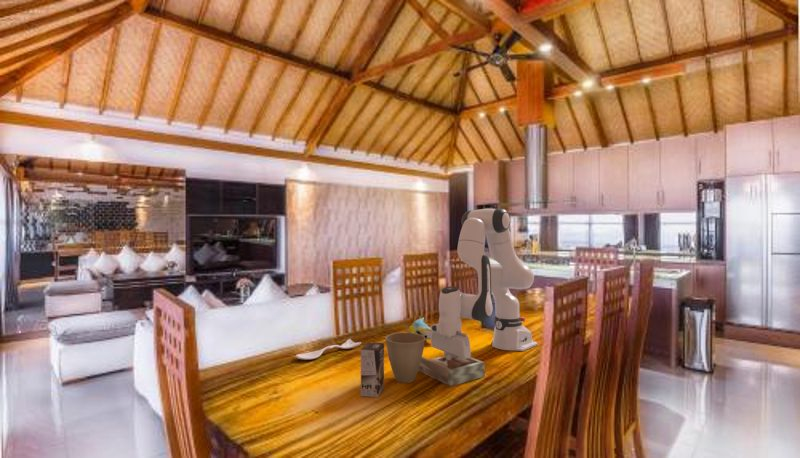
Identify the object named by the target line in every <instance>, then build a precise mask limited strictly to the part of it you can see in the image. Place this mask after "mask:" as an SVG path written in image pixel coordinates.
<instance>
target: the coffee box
mask: <svg viewBox="0 0 800 458" xmlns="http://www.w3.org/2000/svg"><path fill="white" fill-rule="evenodd" d="M384 389H385V343H383V342H367V343H365V345H364V346H363V347H361V349H360V396H361V397H371V398H378V397H379V396H380V395H381V394H382V392H383V390H384Z"/></svg>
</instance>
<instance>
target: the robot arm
mask: <svg viewBox="0 0 800 458" xmlns="http://www.w3.org/2000/svg"><path fill="white" fill-rule="evenodd" d="M510 226H511V216H510V214H509V212H508V211H507V210H506V209H503V208H482V209H475V210H474V209H470V210H468V211H465V212H464V213H463V215H462V216H461V230H460V232H459V233H460V234H459V237H458V242H457V256H458V257H459V258H458V259H460V260H461V261H462V262H463V263H465V264H466V265H468V266H470V267H472V268H473V269H475V270H476V272H477V279H478V280H477V283H478V285H477V286H478V287H477V289H478V293H477V294H472V293H464V292H462V291H461V290H460V288H459V287H457V286H446V287H444V288H442V289H440V292H439V296H438V312H439V313H438V314H439V318H438V323H434V324H431V325H430V328H431V330H432V332H431V339H430V345H431V347H432V348H434V349H436V350H439V351H442V352H443V354H444V356H445V358H446V363H447V364H448V360H449V359H453V358H456V356H457V357H459V358H462V359H467V358H469V357H471V356H472V354H471V353H472V351H471V343H470V340H469V339H470V338H469V336H468V335H467V333H465V332H462V318H464V319H465V318H466V319H471V320H475V321H478V322H485V321H487V320H488V319H490V318H491V316H493V312H494V311H495V312H494V313H495V316H494V327H493V328H494V329H493V339H492V340H491V342H492V345H491V346H492V347H493V348H495V349H497V350H501V351H502V350H503V351H517V352H524V351H526V350H529V349H531V348H533V347H536V346H538V342H536V341H535V340H533V337H532V336H533V335H532V332H531V331H530V330H529V329H528V328H527V327H526V326H525V325H524V324H523V322H526V320H527V319H526V317H524V316H521V317H520V302H519V299H518V298H517V297H516V296H514V295H513V294H512V293H511V291H510V289H512V290H524V289H525V290H526V289H529V288H531V286H532V285H533V284H534V281H535V275H534V272H533V270H532V269H531V268H530V267H528V266H527V265H525V264H524V263H523V262H522V261H521V259H520V258H519V257H518V255H517V254H516V253H517V252H516V250H515V247H514V245H513V239H512V234H511V232H510ZM486 242H487V246H488V250H489V255H490V257H491V259H493V261H494V262H497V263H498V264H497V263H494V264H491V260H490V258H489V256H487V254H486V253H485V252H486V251H485V245H486ZM492 297H493V298H492ZM493 299H494V305H493ZM494 308H495V310H494ZM450 357H451V358H450Z"/></svg>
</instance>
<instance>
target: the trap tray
mask: <svg viewBox="0 0 800 458" xmlns="http://www.w3.org/2000/svg"><path fill="white" fill-rule="evenodd" d="M450 358H451V357H450ZM456 358H457V356H456ZM466 360H468V361H470V364H469V365H465V366H462V367H458V368H454V369H450V368H448V364H447V363H446V358H445V355H444V356H438V357H434V358H431V359H429V358H426V357H424V356H422V359H421V363H420V366H419V369H418V372H420V373H422V374H424V375H426V376H429V377H430V378H433V379H435V380H437V381H438V382H441V383H442V384H445V385H447V386H450V387H454V386H457V385H461V384H464V383H467V382H470V381H474V380H477V379H481V378H485V376H486V375H485V373H486V372H485V368H486V367H485V364H486V363H485V362H484V361H482V360H479V359H477V358H474V357H471V356H470V357H469V358H467V359H466Z"/></svg>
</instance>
